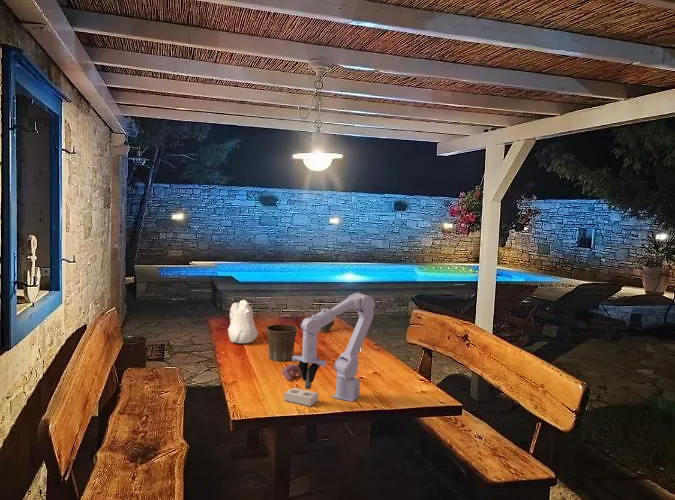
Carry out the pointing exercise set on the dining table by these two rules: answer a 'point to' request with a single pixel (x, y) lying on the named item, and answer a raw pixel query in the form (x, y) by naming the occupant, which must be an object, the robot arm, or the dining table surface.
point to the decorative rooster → (242, 323)
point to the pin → (307, 379)
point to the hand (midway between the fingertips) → (308, 380)
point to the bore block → (301, 397)
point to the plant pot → (281, 341)
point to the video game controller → (288, 369)
